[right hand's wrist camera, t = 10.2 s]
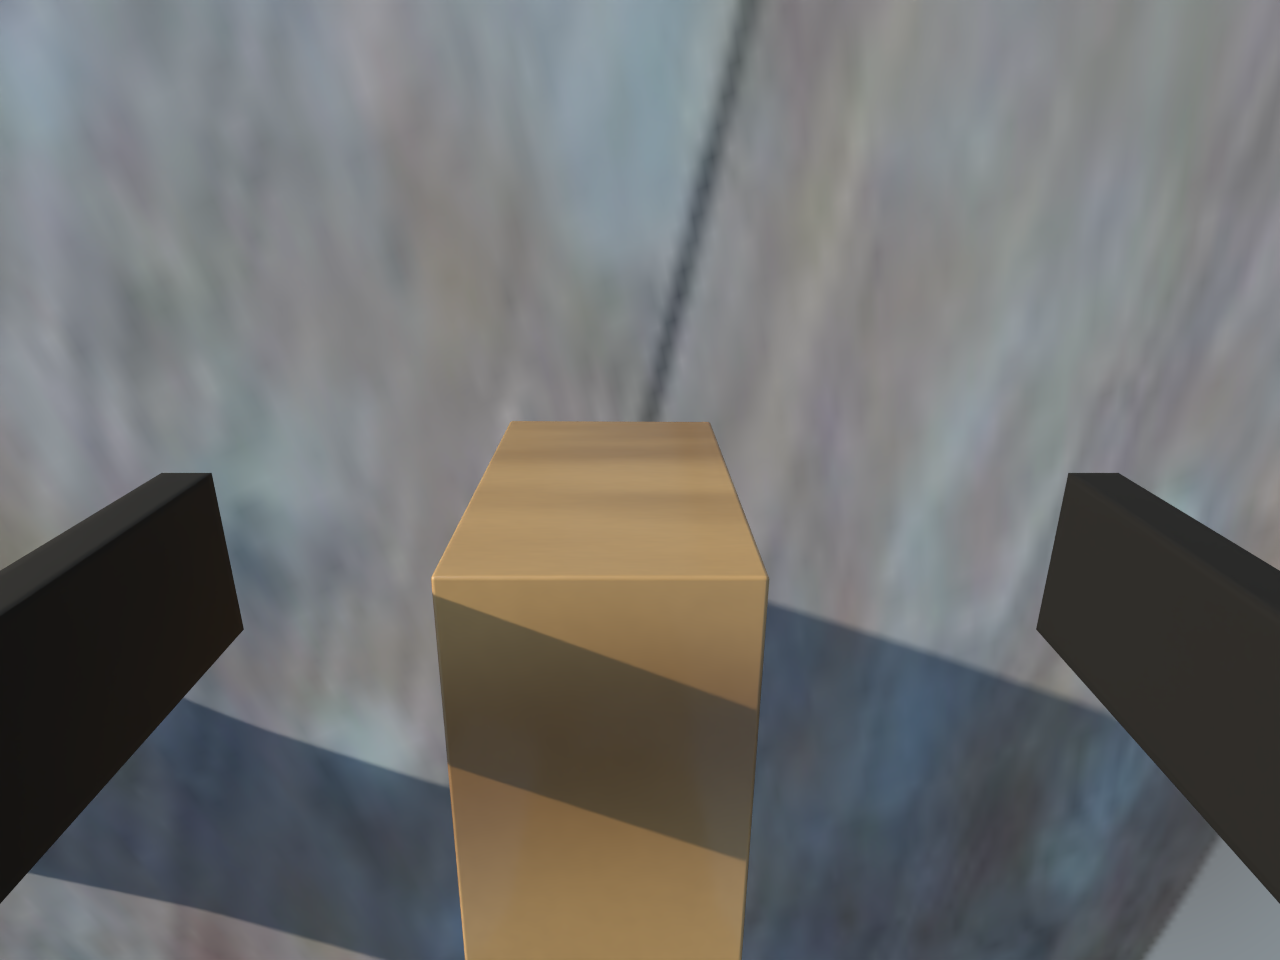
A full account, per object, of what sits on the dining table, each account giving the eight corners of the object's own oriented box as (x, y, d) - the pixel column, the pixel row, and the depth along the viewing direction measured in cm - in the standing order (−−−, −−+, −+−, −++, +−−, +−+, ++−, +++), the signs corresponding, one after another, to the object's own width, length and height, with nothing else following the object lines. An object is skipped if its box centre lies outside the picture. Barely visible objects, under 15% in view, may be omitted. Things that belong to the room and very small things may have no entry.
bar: (510, 420, 19) (429, 576, 11) (710, 421, 19) (770, 576, 11) (540, 1065, 27) (506, 1426, 19) (683, 1063, 27) (708, 1422, 19)
